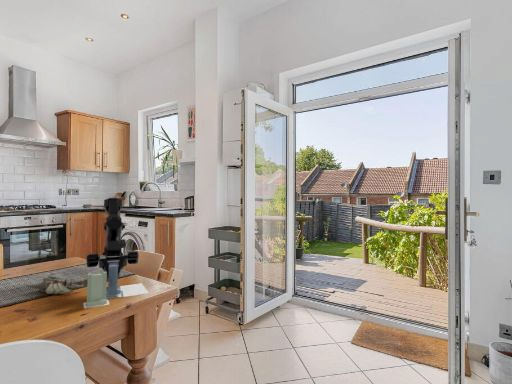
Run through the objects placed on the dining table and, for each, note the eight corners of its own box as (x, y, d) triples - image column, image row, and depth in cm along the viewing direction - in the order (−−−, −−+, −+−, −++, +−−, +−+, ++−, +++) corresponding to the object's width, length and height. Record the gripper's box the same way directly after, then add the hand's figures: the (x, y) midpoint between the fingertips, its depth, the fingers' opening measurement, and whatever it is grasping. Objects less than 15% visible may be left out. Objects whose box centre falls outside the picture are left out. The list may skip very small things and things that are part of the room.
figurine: (77, 271, 132) (92, 279, 121) (76, 285, 132) (90, 294, 121) (21, 277, 117) (33, 287, 106) (20, 292, 117) (31, 304, 106)
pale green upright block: (87, 306, 103) (88, 275, 104) (86, 303, 107) (87, 272, 107) (106, 303, 107) (107, 273, 107) (105, 300, 110) (106, 270, 110)
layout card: (81, 292, 120) (81, 290, 120) (141, 284, 132) (141, 283, 132) (83, 309, 102) (84, 308, 102) (152, 298, 114) (152, 297, 114)
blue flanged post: (104, 290, 117) (105, 263, 118) (120, 289, 120) (120, 262, 120) (104, 295, 112) (105, 266, 112) (120, 293, 114) (121, 265, 115)
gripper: (87, 233, 116) (84, 268, 106) (138, 231, 124) (140, 264, 114) (88, 250, 123) (85, 284, 113) (136, 247, 131) (138, 279, 121)
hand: (113, 277), depth 115 cm, fingers closed on blue flanged post, 3 cm apart
